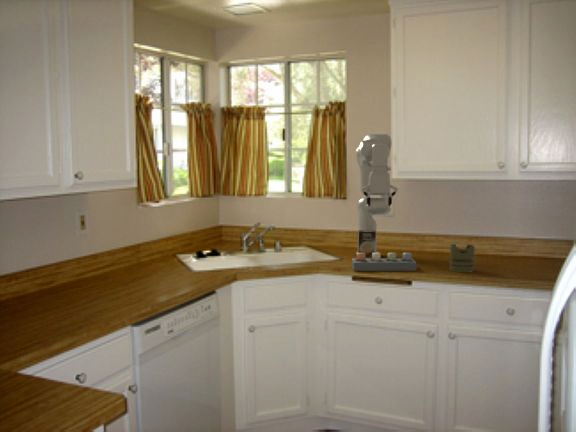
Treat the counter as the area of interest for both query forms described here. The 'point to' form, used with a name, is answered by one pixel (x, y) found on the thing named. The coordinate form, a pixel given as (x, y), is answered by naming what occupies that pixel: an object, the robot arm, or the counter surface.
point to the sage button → (391, 256)
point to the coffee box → (366, 242)
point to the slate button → (406, 256)
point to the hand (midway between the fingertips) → (379, 205)
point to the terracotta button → (360, 256)
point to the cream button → (376, 256)
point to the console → (384, 265)
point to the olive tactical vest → (462, 258)
